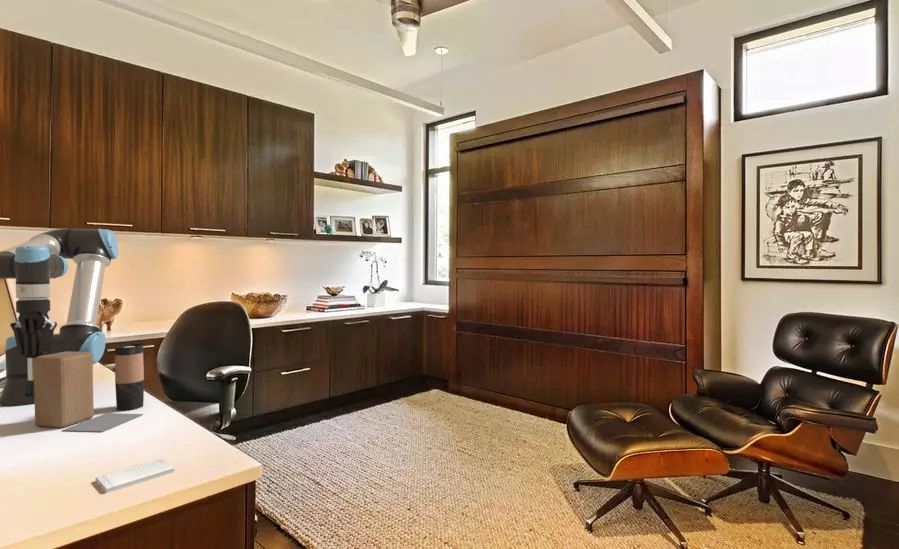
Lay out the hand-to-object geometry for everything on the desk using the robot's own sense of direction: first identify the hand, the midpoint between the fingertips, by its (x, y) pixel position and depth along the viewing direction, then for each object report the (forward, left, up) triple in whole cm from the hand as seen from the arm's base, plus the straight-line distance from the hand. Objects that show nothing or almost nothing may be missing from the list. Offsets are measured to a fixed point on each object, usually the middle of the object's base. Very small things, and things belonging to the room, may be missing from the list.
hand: (34, 379), depth 137 cm
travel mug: (+17, +15, -13) cm, 26 cm away
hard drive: (+57, -32, -13) cm, 67 cm away
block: (+9, 0, -13) cm, 16 cm away
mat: (+21, +1, -13) cm, 25 cm away
